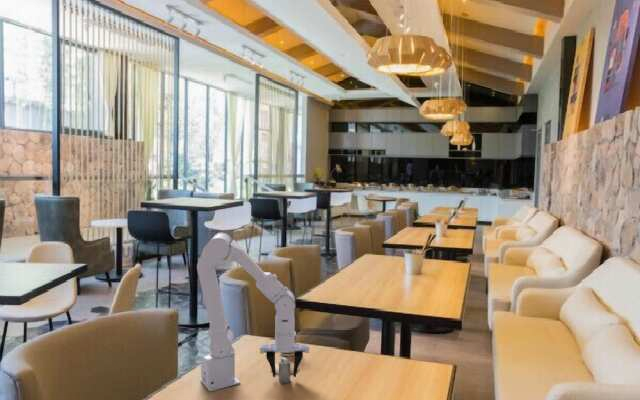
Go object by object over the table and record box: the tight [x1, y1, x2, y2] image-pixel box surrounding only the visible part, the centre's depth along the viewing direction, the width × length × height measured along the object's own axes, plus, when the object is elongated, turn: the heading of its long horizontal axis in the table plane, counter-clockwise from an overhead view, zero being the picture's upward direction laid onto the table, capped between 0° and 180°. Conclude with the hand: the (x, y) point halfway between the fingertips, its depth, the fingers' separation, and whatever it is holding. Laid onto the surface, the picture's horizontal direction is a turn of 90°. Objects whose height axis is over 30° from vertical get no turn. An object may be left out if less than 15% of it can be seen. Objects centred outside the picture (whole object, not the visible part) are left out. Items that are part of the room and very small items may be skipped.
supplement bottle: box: [280, 330, 297, 357], centre depth 170 cm, size 5×5×10 cm
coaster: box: [269, 361, 300, 376], centre depth 158 cm, size 9×9×1 cm
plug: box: [278, 356, 291, 384], centre depth 150 cm, size 3×3×7 cm
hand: (284, 375), depth 150 cm, fingers open, 5 cm apart
